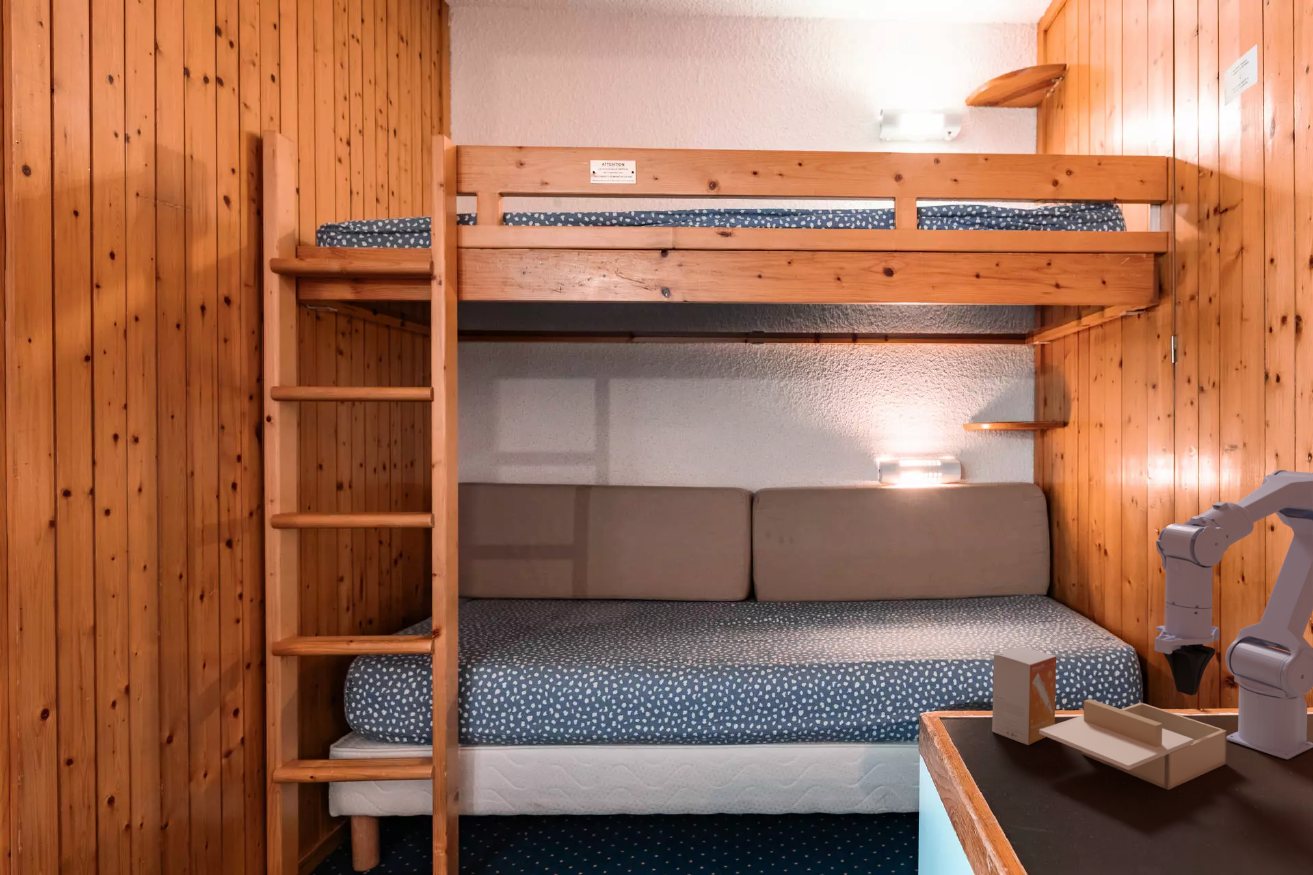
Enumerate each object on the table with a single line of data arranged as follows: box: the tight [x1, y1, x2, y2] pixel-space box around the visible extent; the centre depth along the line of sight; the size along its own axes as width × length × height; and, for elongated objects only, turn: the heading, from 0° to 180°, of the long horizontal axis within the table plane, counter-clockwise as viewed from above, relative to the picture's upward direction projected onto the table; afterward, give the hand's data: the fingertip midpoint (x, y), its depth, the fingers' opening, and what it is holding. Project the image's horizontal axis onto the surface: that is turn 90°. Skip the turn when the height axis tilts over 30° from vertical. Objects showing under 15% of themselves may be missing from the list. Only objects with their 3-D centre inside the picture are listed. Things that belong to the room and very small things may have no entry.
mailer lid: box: [1039, 698, 1194, 770], centre depth 103 cm, size 16×12×4 cm
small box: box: [991, 645, 1057, 746], centre depth 117 cm, size 8×6×13 cm
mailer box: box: [1081, 702, 1228, 791], centre depth 108 cm, size 16×12×5 cm
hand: (1186, 692), depth 109 cm, fingers closed
